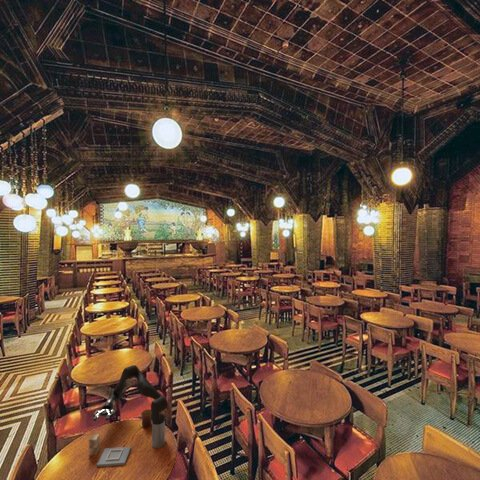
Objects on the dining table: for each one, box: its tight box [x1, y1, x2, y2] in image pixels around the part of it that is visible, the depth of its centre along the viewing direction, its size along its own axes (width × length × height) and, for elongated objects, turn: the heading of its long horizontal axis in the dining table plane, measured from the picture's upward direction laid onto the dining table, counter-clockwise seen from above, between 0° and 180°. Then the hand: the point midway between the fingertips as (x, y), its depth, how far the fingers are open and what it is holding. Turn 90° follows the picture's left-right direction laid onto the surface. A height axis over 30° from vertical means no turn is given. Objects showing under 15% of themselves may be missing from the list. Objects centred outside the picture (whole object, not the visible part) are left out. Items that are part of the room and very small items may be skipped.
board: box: [96, 446, 132, 468], centre depth 189 cm, size 18×14×2 cm
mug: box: [140, 408, 152, 429], centre depth 223 cm, size 12×9×10 cm
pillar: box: [88, 433, 100, 456], centre depth 194 cm, size 5×5×11 cm
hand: (100, 419), depth 205 cm, fingers open, 8 cm apart
